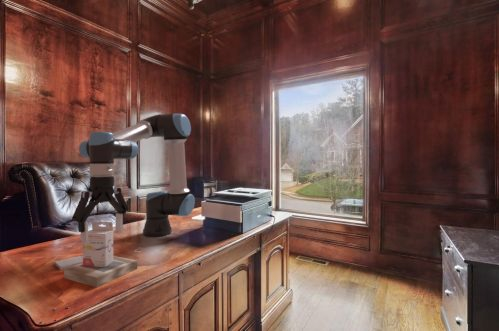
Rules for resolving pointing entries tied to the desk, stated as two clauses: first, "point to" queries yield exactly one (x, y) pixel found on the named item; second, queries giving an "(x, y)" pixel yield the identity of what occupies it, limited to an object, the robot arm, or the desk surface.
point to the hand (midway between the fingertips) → (103, 235)
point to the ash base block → (100, 272)
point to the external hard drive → (69, 262)
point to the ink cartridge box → (99, 245)
